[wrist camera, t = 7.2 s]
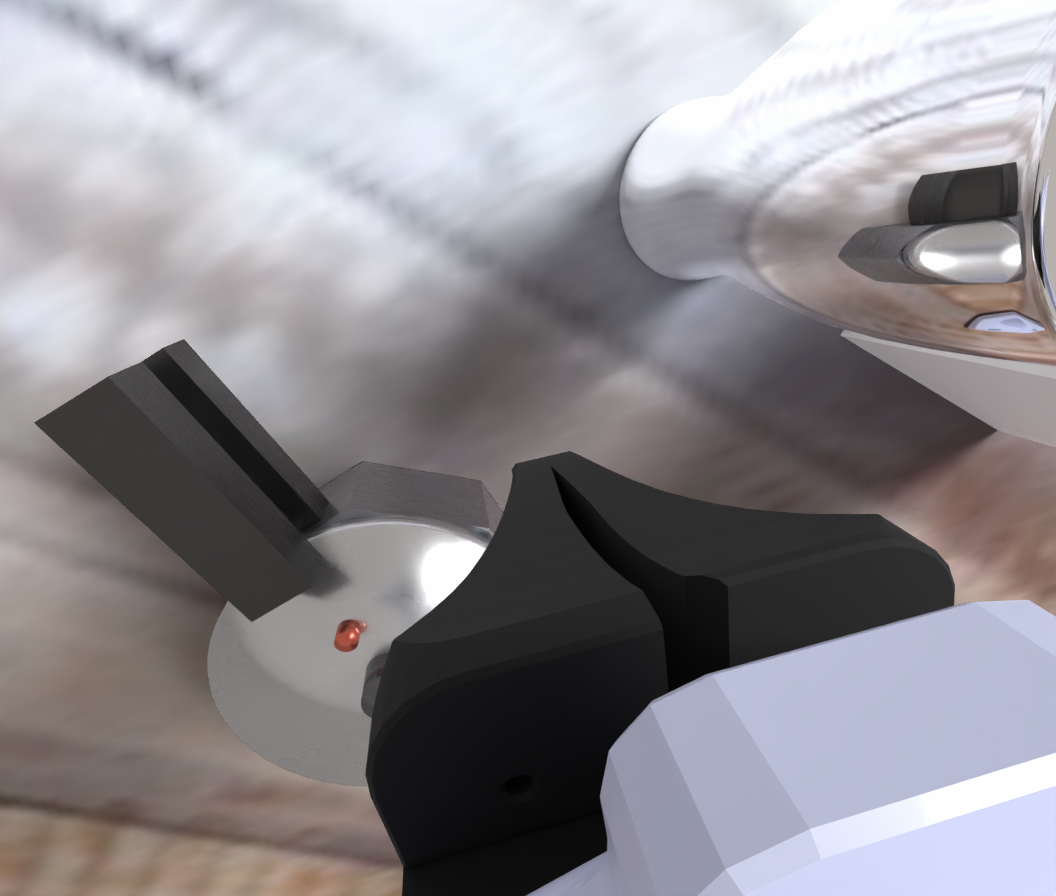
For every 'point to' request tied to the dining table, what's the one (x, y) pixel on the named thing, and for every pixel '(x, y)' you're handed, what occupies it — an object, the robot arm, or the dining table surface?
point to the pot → (290, 488)
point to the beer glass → (874, 177)
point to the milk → (979, 385)
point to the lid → (269, 575)
